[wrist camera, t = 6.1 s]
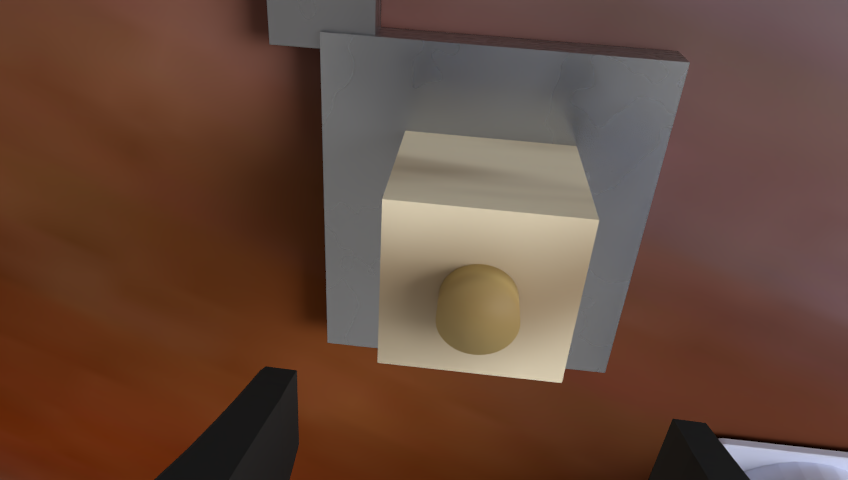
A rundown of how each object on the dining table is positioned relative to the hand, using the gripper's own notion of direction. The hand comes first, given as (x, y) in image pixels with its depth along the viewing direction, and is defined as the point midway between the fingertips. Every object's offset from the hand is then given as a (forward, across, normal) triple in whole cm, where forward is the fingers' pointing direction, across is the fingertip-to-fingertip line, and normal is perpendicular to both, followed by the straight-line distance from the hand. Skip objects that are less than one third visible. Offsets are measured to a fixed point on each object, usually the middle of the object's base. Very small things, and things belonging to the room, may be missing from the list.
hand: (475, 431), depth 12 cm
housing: (+9, 0, 0) cm, 9 cm away
